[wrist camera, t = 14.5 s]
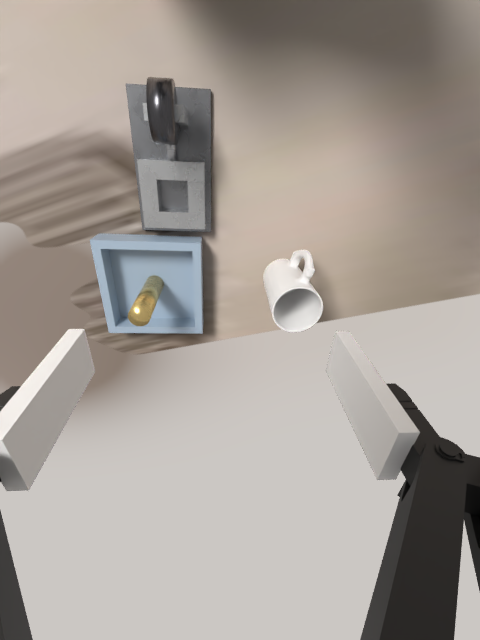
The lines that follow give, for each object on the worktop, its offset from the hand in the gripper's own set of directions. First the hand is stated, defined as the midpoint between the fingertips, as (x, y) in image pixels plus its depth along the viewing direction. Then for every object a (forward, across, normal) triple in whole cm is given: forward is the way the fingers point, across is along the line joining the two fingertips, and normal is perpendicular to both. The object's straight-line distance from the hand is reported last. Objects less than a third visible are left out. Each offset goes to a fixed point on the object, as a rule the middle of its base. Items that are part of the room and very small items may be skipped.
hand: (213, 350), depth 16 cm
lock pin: (+32, -10, -10) cm, 35 cm away
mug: (+33, +11, -7) cm, 35 cm away
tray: (+33, -10, -10) cm, 36 cm away
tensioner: (+33, -6, +7) cm, 34 cm away
